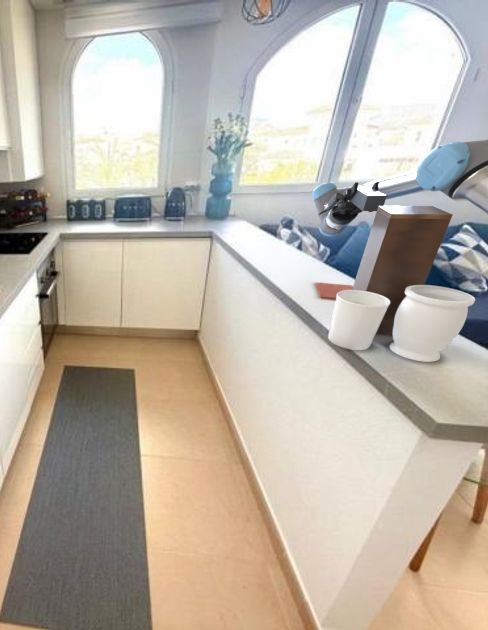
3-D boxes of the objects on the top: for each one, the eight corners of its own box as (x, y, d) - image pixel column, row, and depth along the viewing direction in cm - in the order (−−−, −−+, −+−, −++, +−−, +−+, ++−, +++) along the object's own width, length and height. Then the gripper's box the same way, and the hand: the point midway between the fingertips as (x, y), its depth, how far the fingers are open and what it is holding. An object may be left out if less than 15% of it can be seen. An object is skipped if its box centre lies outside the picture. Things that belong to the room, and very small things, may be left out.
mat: (351, 287, 115) (351, 285, 114) (360, 302, 104) (360, 300, 104) (315, 284, 119) (315, 282, 119) (320, 298, 109) (321, 296, 108)
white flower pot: (382, 353, 80) (400, 307, 75) (334, 350, 82) (348, 305, 77) (361, 333, 88) (375, 290, 83) (317, 331, 91) (329, 289, 86)
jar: (396, 362, 76) (422, 301, 70) (374, 339, 85) (395, 283, 79) (457, 368, 73) (490, 304, 67) (428, 343, 82) (454, 285, 76)
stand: (389, 318, 94) (432, 205, 81) (402, 337, 85) (453, 214, 72) (344, 313, 98) (378, 205, 85) (352, 331, 90) (391, 213, 77)
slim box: (364, 199, 106) (368, 186, 104) (381, 211, 90) (387, 195, 89) (348, 199, 108) (351, 186, 106) (362, 211, 92) (367, 195, 90)
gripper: (371, 226, 117) (403, 199, 95) (311, 224, 124) (328, 199, 103) (374, 204, 117) (407, 173, 96) (314, 204, 124) (332, 175, 103)
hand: (366, 186), depth 99 cm, fingers closed on slim box, 4 cm apart
